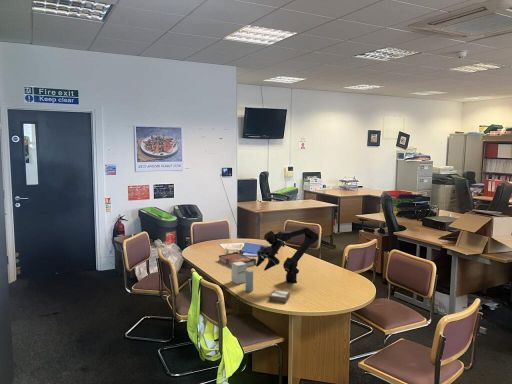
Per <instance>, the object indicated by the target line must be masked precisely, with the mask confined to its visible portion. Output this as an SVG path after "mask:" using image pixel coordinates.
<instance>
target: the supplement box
mask: <svg viewBox="0 0 512 384" xmlns="http://www.w3.org/2000/svg"><path fill="white" fill-rule="evenodd" d="M246 270H247V267H246V263H243V262H241V261H240V262H235V263H232V267H231V282H232V283H235V285H240V284H244V283H245V273H246Z"/></svg>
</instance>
